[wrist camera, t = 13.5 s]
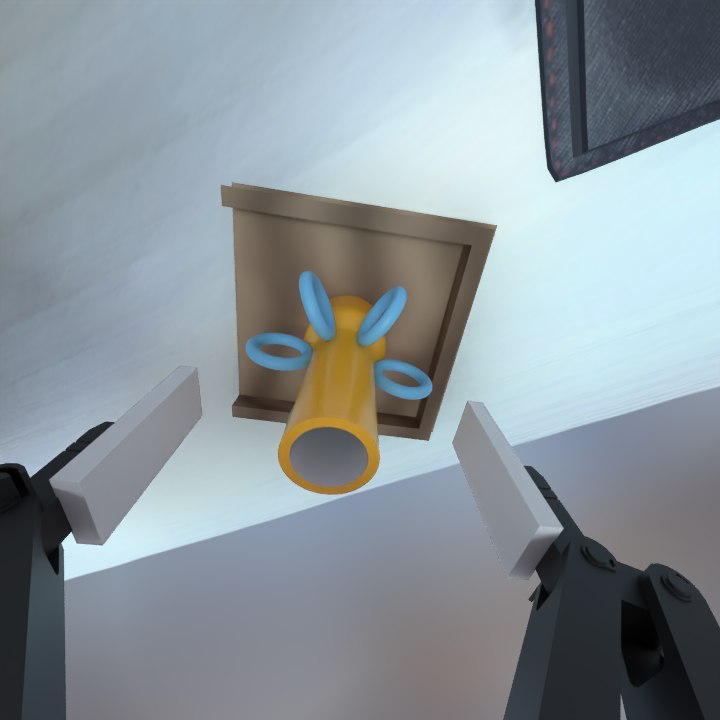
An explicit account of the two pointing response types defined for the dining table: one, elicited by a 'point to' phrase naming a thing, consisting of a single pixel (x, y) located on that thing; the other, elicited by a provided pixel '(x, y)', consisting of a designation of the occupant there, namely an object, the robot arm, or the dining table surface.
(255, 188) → the open-sided tray
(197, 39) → the dining table surface
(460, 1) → the dining table surface
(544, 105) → the wallet
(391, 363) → the cylinder
